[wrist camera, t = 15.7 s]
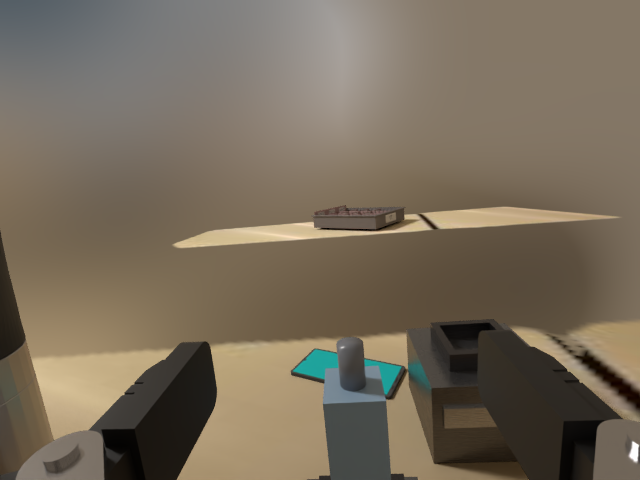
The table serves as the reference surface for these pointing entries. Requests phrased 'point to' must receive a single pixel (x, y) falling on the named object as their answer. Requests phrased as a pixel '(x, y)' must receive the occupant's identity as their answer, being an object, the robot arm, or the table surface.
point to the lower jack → (395, 478)
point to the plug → (355, 417)
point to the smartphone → (323, 359)
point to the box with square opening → (453, 392)
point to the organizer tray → (357, 217)
